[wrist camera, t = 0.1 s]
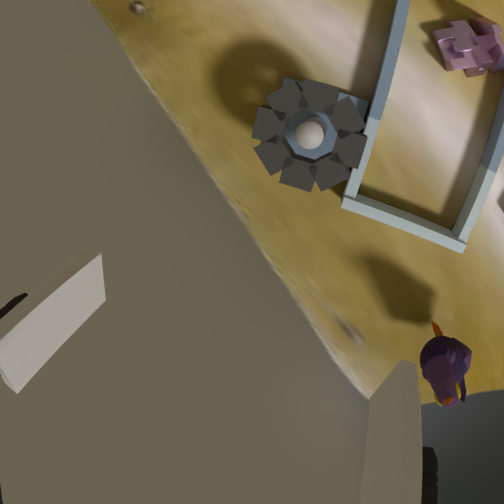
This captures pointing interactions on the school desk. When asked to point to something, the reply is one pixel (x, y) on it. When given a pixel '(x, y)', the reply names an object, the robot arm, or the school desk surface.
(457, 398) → the toy
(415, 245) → the school desk surface
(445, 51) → the letters
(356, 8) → the school desk surface
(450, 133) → the school desk surface
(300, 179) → the wheel
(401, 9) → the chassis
